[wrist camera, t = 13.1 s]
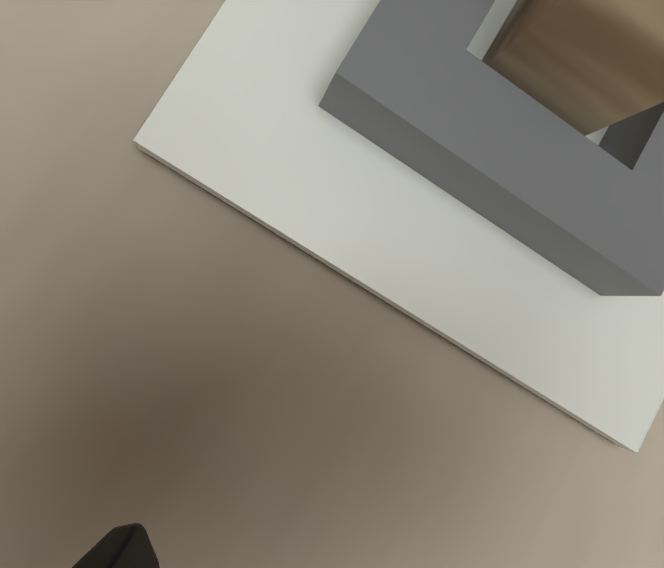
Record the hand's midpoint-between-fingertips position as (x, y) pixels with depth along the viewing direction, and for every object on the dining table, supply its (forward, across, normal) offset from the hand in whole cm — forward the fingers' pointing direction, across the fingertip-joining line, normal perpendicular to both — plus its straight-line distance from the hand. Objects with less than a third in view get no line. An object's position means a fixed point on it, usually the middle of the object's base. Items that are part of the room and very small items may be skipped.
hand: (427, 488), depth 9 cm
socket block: (+16, -8, -5) cm, 19 cm away
